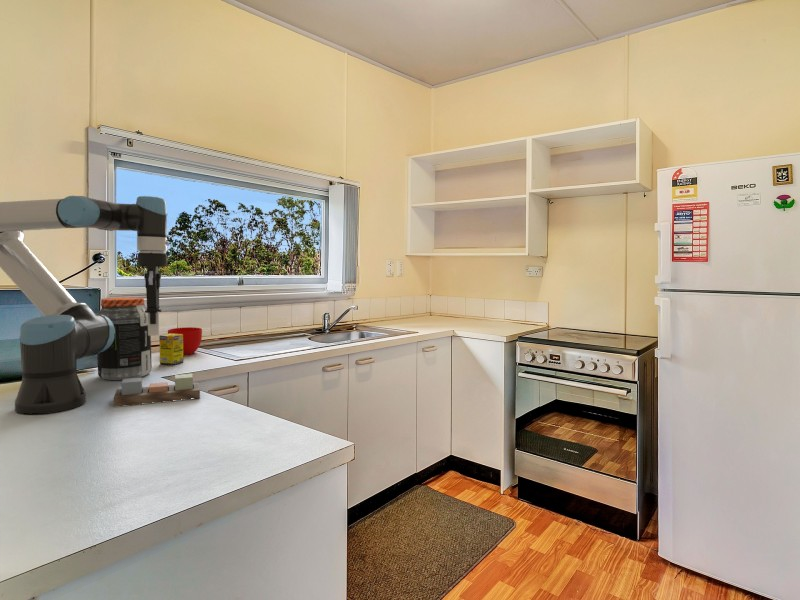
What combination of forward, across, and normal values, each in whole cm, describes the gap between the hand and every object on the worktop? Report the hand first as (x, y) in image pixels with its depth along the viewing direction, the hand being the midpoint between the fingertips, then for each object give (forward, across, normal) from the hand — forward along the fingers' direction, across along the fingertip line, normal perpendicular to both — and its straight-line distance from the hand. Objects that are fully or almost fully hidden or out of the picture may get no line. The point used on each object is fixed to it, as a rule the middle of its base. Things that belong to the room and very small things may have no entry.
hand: (153, 334), depth 139 cm
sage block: (+15, -5, -8) cm, 18 cm away
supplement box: (+18, +43, -2) cm, 47 cm away
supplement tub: (+18, +28, +11) cm, 35 cm away
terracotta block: (+17, -5, -2) cm, 18 cm away
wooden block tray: (+17, -5, -2) cm, 18 cm away
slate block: (+15, -6, +5) cm, 17 cm away
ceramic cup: (+18, +61, -5) cm, 64 cm away
